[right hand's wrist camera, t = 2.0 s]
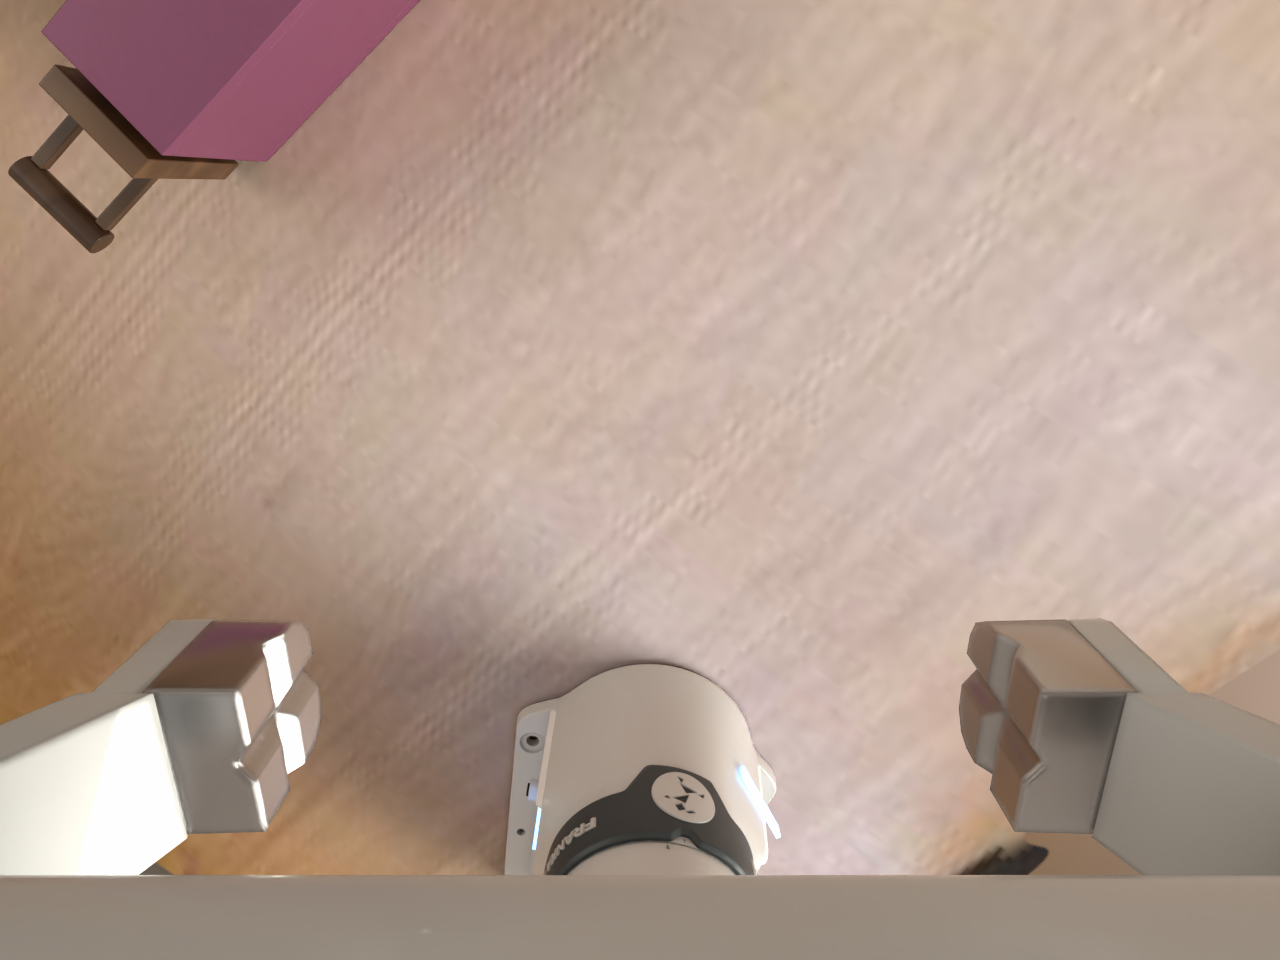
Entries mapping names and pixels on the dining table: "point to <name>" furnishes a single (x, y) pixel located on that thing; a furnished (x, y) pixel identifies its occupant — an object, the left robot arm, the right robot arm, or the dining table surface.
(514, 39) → the dining table surface
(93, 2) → the purple rectangular block
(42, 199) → the wooden drawer
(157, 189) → the dining table surface
